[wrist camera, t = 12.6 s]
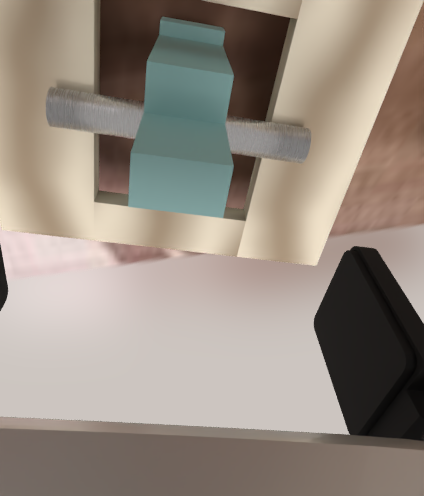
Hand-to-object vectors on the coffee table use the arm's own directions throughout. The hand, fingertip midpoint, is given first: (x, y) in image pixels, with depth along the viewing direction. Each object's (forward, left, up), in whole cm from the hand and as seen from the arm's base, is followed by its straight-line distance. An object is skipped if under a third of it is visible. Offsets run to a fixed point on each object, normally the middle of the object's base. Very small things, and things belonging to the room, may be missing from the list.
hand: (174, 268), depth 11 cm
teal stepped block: (0, 0, -21) cm, 21 cm away
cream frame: (0, 0, -24) cm, 24 cm away
